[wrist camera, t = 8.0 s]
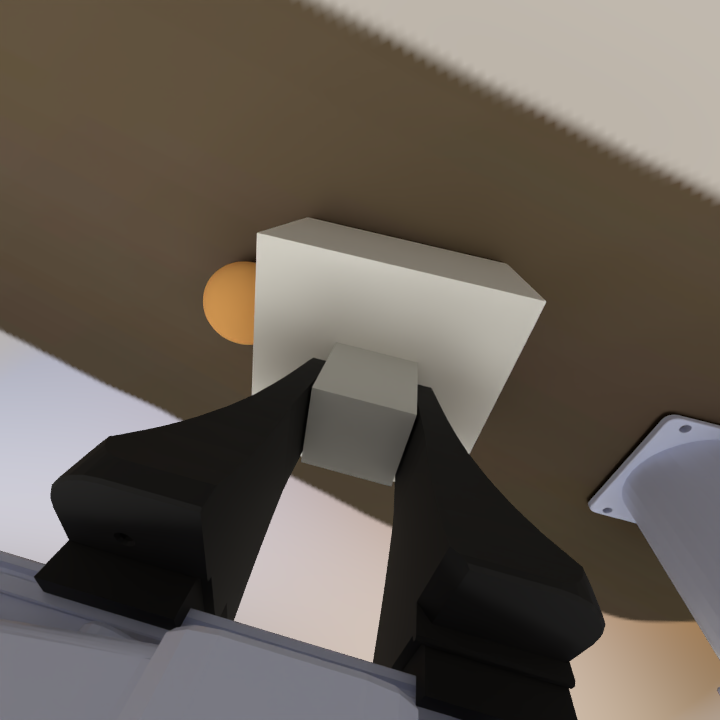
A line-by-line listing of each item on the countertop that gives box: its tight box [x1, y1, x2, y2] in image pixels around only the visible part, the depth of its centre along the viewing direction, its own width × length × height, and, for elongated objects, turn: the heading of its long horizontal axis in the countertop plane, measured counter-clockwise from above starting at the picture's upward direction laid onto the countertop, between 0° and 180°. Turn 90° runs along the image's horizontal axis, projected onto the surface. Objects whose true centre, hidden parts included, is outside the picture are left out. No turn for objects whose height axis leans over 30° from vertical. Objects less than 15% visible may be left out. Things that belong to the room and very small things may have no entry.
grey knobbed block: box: [252, 217, 546, 486], centre depth 13 cm, size 9×9×8 cm
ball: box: [203, 261, 256, 345], centre depth 16 cm, size 4×4×4 cm
